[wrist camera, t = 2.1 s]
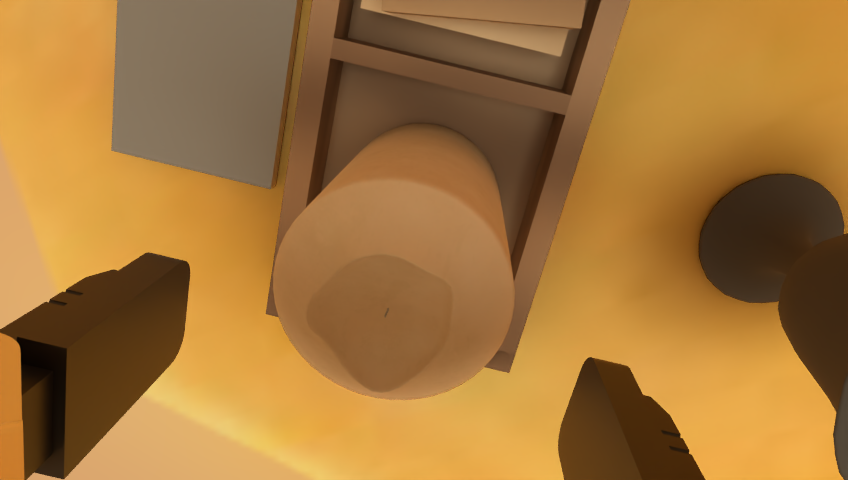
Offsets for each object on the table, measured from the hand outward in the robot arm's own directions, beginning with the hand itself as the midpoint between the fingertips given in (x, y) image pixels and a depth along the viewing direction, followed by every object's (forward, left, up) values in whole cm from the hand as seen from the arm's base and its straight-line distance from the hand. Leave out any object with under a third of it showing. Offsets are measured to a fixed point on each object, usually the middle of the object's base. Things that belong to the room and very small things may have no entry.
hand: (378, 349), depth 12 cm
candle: (0, 0, -11) cm, 11 cm away
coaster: (-3, -8, -11) cm, 14 cm away
